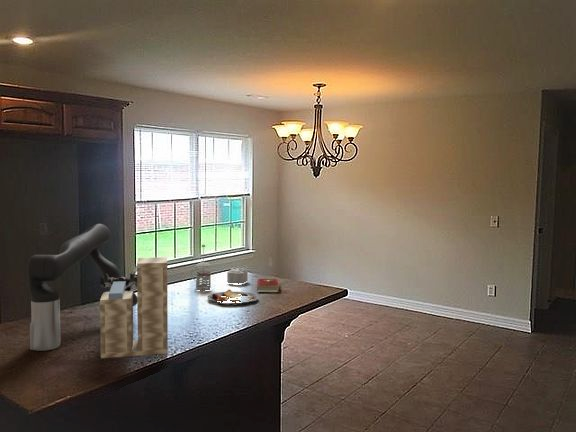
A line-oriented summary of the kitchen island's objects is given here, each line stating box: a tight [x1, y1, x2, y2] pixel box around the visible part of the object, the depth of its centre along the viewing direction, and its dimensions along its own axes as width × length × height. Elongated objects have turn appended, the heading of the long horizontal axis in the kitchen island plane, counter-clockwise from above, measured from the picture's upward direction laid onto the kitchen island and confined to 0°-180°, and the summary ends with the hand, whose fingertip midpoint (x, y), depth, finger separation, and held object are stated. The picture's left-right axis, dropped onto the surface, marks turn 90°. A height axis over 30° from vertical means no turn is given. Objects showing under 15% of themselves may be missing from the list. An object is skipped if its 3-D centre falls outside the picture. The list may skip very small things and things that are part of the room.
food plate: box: [207, 289, 259, 305], centre depth 252 cm, size 25×23×4 cm
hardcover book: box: [256, 278, 280, 291], centre depth 281 cm, size 12×21×4 cm, turn 3°
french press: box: [190, 244, 212, 291], centre depth 274 cm, size 10×12×25 cm
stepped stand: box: [99, 256, 169, 359], centre depth 177 cm, size 22×12×32 cm, turn 104°
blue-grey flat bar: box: [108, 281, 126, 299], centre depth 179 cm, size 4×20×2 cm, turn 15°
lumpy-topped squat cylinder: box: [226, 267, 249, 284], centre depth 294 cm, size 10×13×9 cm
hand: (118, 276), depth 184 cm, fingers open, 8 cm apart
